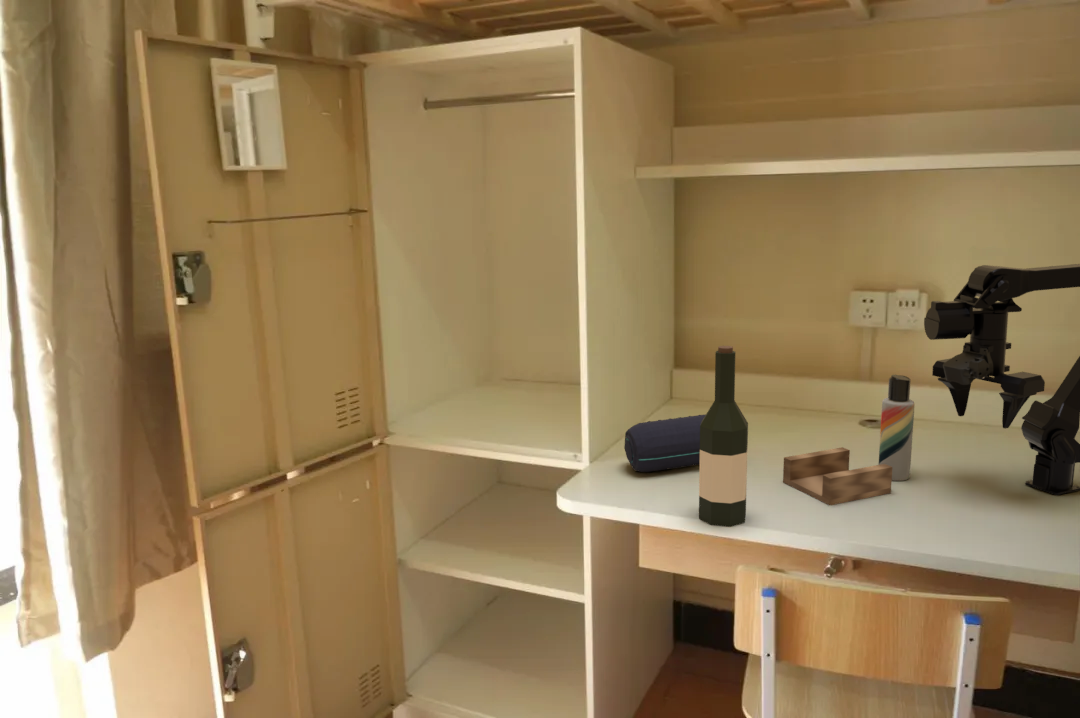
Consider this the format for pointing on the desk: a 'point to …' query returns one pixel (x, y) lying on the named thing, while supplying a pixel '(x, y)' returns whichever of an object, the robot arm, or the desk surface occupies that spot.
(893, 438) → the lotion bottle
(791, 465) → the cradle
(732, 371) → the wine bottle
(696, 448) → the portable speaker
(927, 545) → the desk surface
